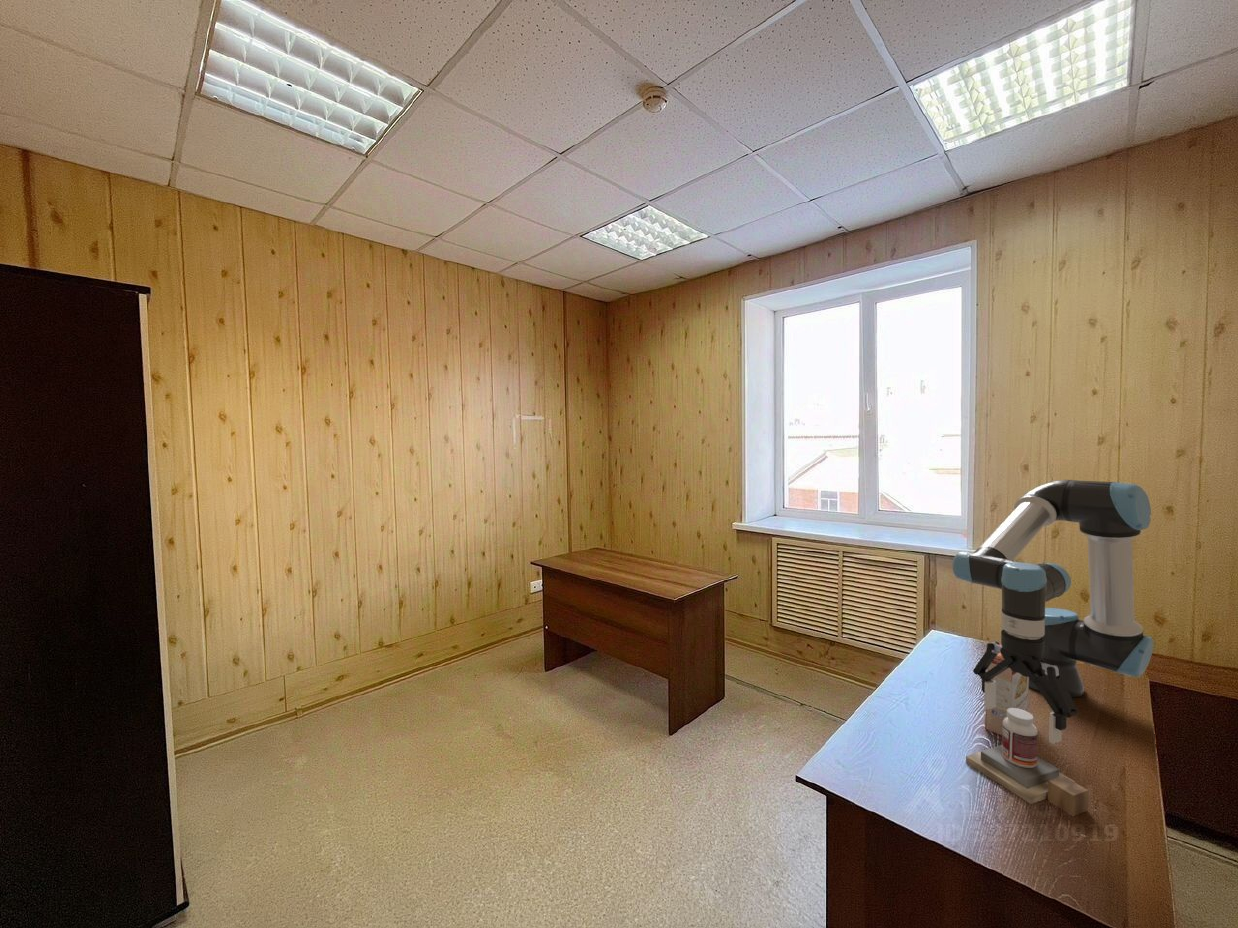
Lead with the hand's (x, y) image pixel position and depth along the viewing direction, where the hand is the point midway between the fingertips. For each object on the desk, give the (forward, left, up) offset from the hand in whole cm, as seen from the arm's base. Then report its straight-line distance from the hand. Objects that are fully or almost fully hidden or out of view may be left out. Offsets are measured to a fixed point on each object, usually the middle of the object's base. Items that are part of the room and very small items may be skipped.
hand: (1020, 723), depth 111 cm
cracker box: (-17, -14, -12) cm, 25 cm away
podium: (0, 0, -12) cm, 12 cm away
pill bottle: (0, 0, -9) cm, 9 cm away
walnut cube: (+1, +8, -10) cm, 12 cm away
